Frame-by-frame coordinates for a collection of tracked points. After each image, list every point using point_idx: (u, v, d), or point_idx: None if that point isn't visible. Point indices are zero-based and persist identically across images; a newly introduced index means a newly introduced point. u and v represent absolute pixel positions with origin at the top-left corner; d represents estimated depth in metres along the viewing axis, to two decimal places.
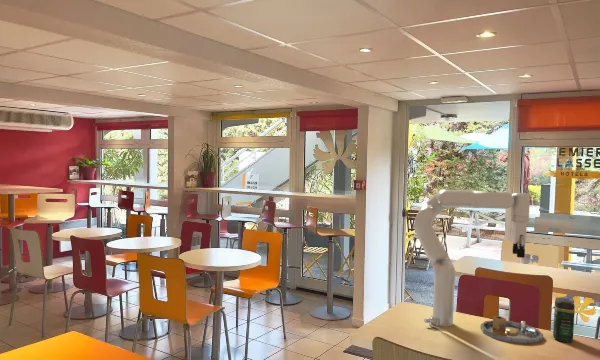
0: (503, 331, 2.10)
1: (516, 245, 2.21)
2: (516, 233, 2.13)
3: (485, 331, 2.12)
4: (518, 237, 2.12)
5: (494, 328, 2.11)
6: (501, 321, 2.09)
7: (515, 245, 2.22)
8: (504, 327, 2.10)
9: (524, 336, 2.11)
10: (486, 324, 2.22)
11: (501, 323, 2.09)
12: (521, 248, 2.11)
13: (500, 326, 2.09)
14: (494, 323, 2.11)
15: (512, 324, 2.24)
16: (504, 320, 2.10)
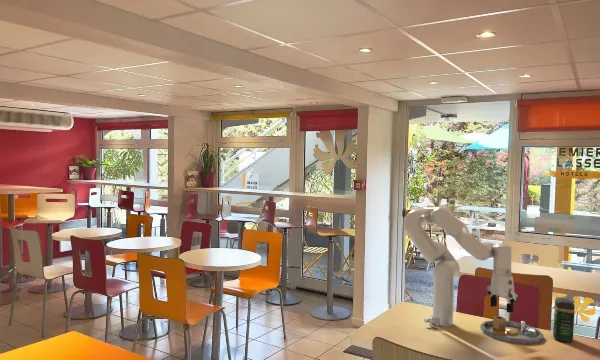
0: (503, 331, 2.10)
1: None
2: None
3: (485, 331, 2.12)
4: None
5: (494, 328, 2.11)
6: (501, 321, 2.09)
7: None
8: (504, 327, 2.10)
9: (524, 336, 2.11)
10: (486, 324, 2.22)
11: (501, 323, 2.09)
12: None
13: (500, 326, 2.09)
14: (494, 323, 2.11)
15: (512, 324, 2.24)
16: (504, 320, 2.10)
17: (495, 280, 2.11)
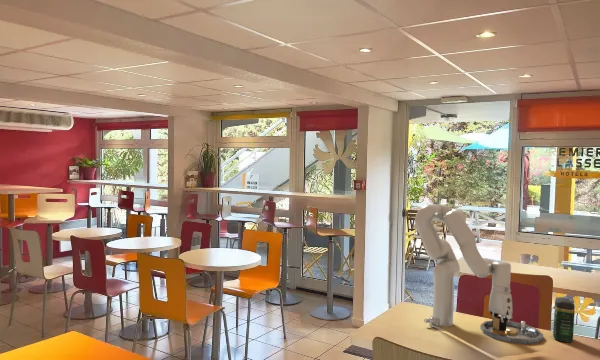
0: (503, 331, 2.10)
1: None
2: None
3: (485, 331, 2.12)
4: None
5: (494, 328, 2.11)
6: None
7: None
8: None
9: (524, 336, 2.11)
10: (486, 324, 2.22)
11: None
12: None
13: None
14: (494, 323, 2.11)
15: (512, 324, 2.24)
16: None
17: (493, 297, 2.11)
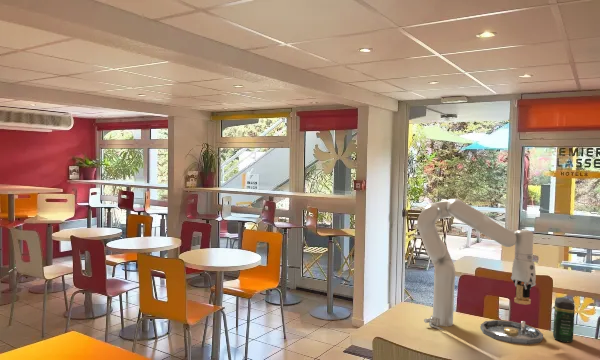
0: (527, 298, 2.14)
1: None
2: None
3: (485, 331, 2.12)
4: None
5: (518, 295, 2.15)
6: (524, 288, 2.13)
7: None
8: None
9: (524, 336, 2.11)
10: (486, 324, 2.22)
11: None
12: None
13: None
14: (517, 291, 2.15)
15: (512, 324, 2.24)
16: None
17: (516, 265, 2.15)
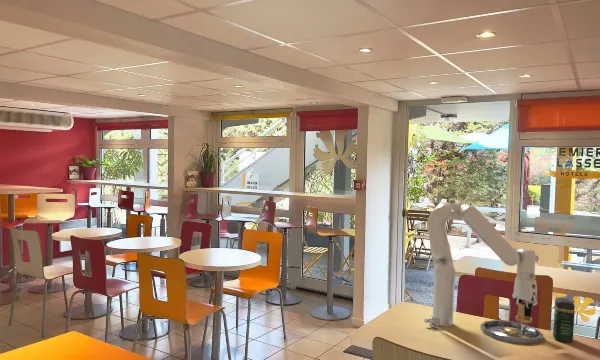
0: (528, 317, 2.15)
1: None
2: None
3: (485, 331, 2.12)
4: None
5: (519, 314, 2.16)
6: None
7: None
8: None
9: (524, 336, 2.11)
10: (486, 324, 2.22)
11: None
12: None
13: None
14: (519, 309, 2.16)
15: (512, 324, 2.24)
16: None
17: (518, 284, 2.16)
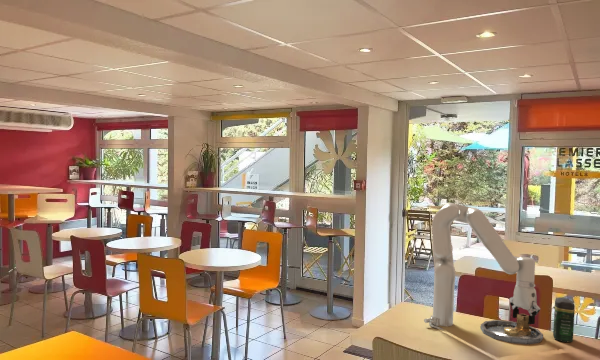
0: (527, 328, 2.15)
1: None
2: None
3: (485, 331, 2.12)
4: None
5: (518, 325, 2.16)
6: (525, 318, 2.14)
7: None
8: (528, 324, 2.15)
9: (524, 336, 2.11)
10: (486, 324, 2.22)
11: (525, 321, 2.14)
12: None
13: (524, 323, 2.14)
14: (518, 320, 2.16)
15: (512, 324, 2.24)
16: (528, 317, 2.15)
17: (518, 292, 2.16)
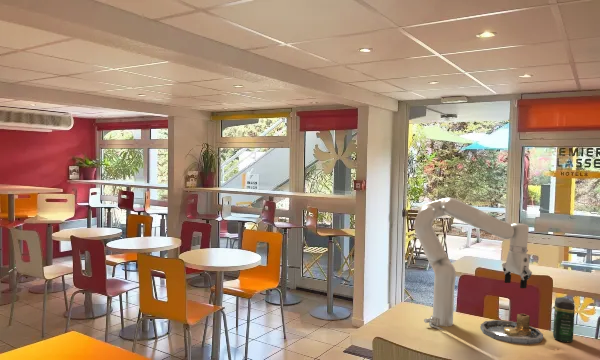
0: (527, 328, 2.15)
1: None
2: None
3: (485, 331, 2.12)
4: None
5: (518, 325, 2.16)
6: (525, 318, 2.14)
7: None
8: (528, 324, 2.15)
9: (524, 336, 2.11)
10: (486, 324, 2.22)
11: (525, 321, 2.14)
12: None
13: (524, 323, 2.14)
14: (518, 320, 2.16)
15: (512, 324, 2.24)
16: (528, 317, 2.15)
17: (511, 258, 2.19)
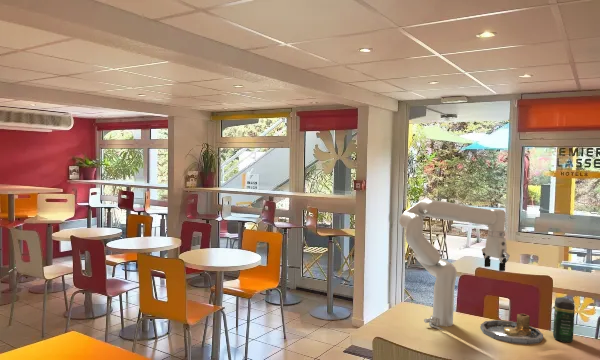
0: (527, 328, 2.15)
1: None
2: None
3: (485, 331, 2.12)
4: None
5: (518, 325, 2.16)
6: (525, 318, 2.14)
7: None
8: (528, 324, 2.15)
9: (524, 336, 2.11)
10: (486, 324, 2.22)
11: (525, 321, 2.14)
12: None
13: (524, 323, 2.14)
14: (518, 320, 2.16)
15: (512, 324, 2.24)
16: (528, 317, 2.15)
17: (489, 242, 2.28)
